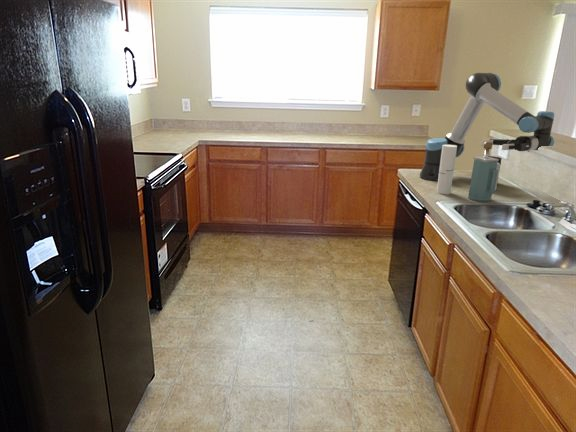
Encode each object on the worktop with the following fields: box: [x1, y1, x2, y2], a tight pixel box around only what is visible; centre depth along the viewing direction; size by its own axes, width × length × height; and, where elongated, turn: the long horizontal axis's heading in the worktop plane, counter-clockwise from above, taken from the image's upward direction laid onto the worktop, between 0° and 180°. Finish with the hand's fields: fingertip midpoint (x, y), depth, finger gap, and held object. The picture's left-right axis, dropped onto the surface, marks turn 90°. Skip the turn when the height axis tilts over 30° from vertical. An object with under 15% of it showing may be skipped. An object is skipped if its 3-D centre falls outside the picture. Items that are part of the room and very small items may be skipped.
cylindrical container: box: [436, 145, 457, 195], centre depth 229 cm, size 7×7×25 cm
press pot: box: [467, 156, 499, 203], centre depth 217 cm, size 13×11×21 cm
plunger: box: [483, 142, 493, 159], centre depth 217 cm, size 7×7×25 cm
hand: (491, 145), depth 213 cm, fingers open, 13 cm apart
